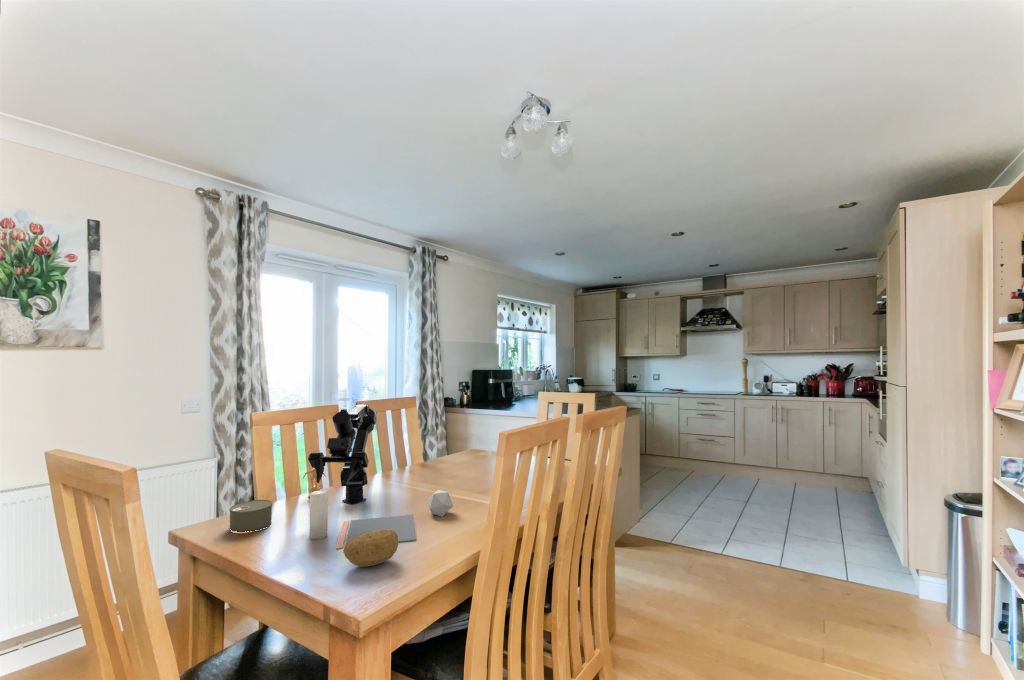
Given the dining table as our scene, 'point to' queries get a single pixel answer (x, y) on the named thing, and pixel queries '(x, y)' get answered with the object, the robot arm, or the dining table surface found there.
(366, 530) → the mat
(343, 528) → the strip
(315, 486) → the figurine
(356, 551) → the potato
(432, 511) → the die
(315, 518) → the cream teardrop shape
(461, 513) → the dining table surface
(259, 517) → the can
